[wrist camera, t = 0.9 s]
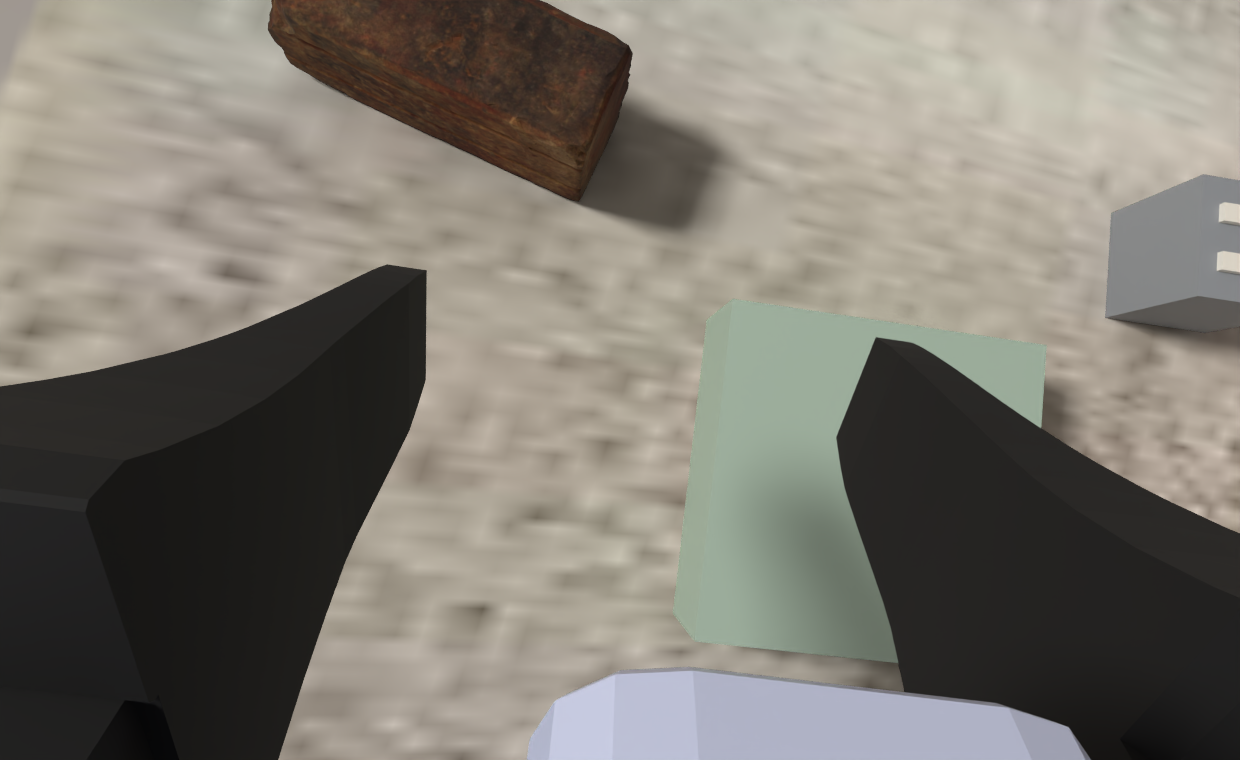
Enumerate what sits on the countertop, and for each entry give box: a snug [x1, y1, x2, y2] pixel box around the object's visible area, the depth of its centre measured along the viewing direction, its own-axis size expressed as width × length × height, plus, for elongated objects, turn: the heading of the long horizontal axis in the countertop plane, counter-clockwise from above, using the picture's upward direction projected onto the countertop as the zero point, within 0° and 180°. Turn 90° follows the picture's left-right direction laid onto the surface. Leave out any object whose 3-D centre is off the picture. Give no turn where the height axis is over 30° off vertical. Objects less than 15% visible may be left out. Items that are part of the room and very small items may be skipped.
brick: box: [268, 0, 632, 201], centre depth 23 cm, size 11×4×5 cm, turn 66°
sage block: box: [673, 299, 1047, 663], centre depth 24 cm, size 10×10×4 cm
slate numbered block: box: [1105, 174, 1240, 333], centre depth 25 cm, size 4×4×4 cm
